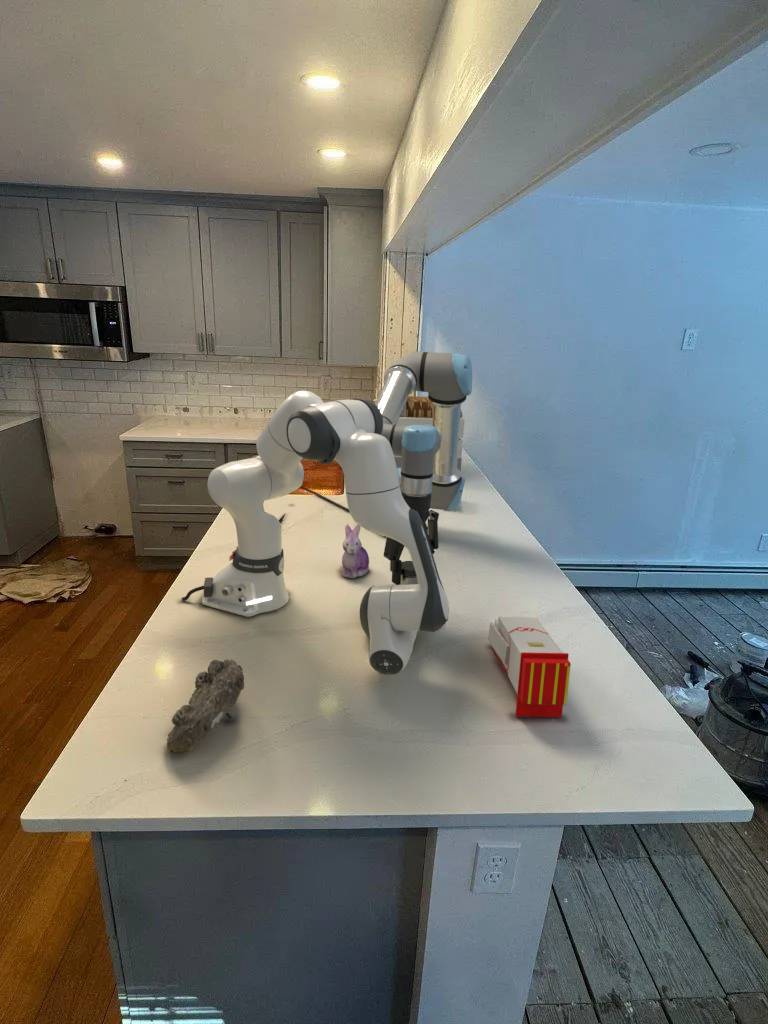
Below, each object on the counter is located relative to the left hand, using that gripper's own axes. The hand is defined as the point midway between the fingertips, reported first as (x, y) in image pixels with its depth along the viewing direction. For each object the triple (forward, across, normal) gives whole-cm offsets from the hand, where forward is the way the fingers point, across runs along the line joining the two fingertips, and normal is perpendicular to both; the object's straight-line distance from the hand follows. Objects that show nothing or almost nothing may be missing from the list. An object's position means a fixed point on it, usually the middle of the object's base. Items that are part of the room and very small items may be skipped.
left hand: (409, 596), depth 143 cm
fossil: (-46, +30, +6) cm, 55 cm away
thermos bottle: (-1, 0, +6) cm, 6 cm away
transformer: (+137, +16, +6) cm, 138 cm away
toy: (-17, -28, +6) cm, 34 cm away
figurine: (+22, +20, +6) cm, 30 cm away
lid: (-1, 0, -9) cm, 9 cm away
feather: (+60, +56, +6) cm, 82 cm away
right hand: (-1, 0, -5) cm, 5 cm away
